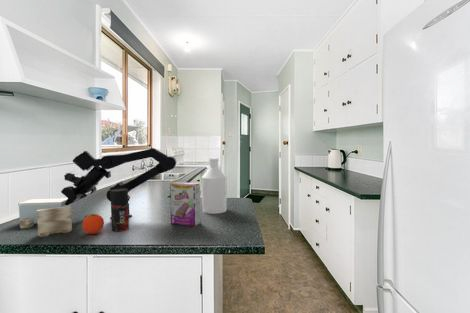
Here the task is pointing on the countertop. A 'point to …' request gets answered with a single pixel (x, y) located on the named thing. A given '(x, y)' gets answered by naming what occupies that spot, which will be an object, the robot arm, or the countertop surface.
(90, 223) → the clementine
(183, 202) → the candy bar box
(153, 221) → the countertop surface
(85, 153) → the robot arm
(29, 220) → the left marker cube
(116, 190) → the deodorant
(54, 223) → the beige layered block
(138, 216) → the countertop surface
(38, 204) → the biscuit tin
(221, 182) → the bottle
